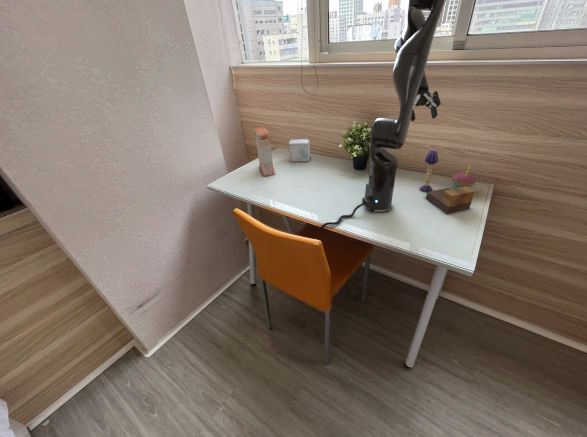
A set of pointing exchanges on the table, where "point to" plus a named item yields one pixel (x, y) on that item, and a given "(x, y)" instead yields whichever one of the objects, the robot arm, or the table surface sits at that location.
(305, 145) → the cosmetics box
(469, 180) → the cupcake
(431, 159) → the toy lamp
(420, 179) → the table surface
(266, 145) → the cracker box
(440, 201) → the tiered shelf
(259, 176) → the table surface
